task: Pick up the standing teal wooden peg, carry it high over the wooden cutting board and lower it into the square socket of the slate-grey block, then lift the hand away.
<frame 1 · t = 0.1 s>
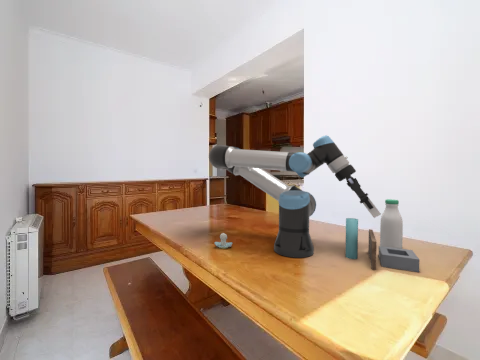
hand: (375, 213, 90), 15 cm above the table, tool tilted 35°, fingers open, 13 cm apart
wooden cutting board: (371, 260, 82), on the table
socket block: (397, 263, 78), on the table
pacifier: (223, 247, 96), on the table
peg: (351, 257, 85), on the table
milk bottle: (390, 248, 95), on the table
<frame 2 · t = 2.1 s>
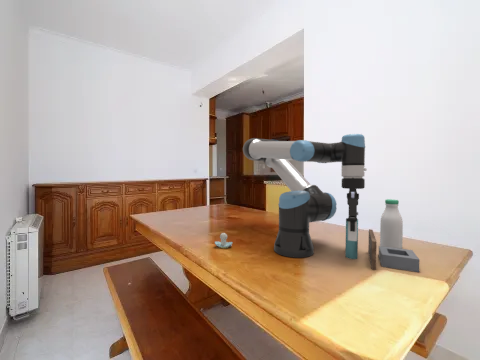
hand: (352, 236, 84), 8 cm above the table, tool pointing down, fingers open, 13 cm apart
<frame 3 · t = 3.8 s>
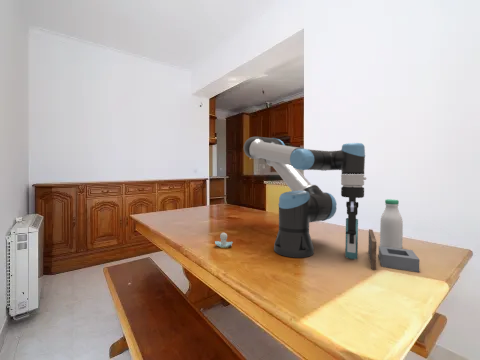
hand: (351, 250, 85), 3 cm above the table, tool pointing down, fingers closed on peg, 4 cm apart
peg: (351, 257, 85), on the table, touching gripper
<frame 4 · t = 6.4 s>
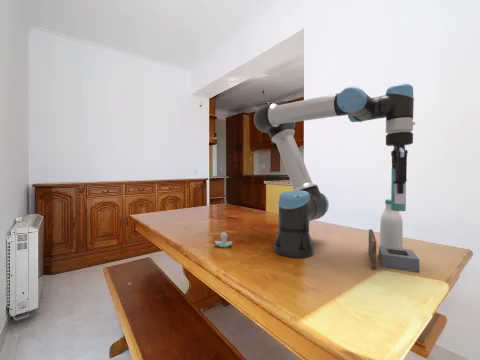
hand: (398, 202, 78), 21 cm above the table, tool pointing down, fingers closed on peg, 4 cm apart
peg: (398, 210, 78), point 18 cm above the table, touching gripper
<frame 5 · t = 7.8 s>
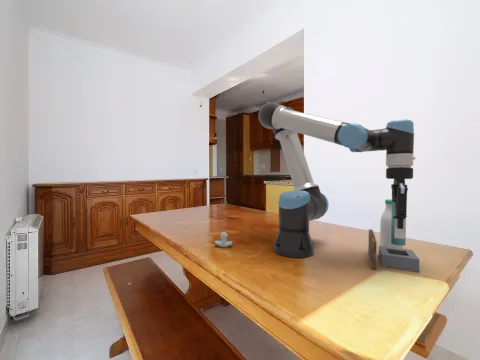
hand: (398, 236, 78), 9 cm above the table, tool pointing down, fingers closed on peg, 4 cm apart
peg: (398, 243, 78), point 7 cm above the table, touching gripper
when the fingers open (6 cm above the table, at t = 9.2 s): peg drops 2 cm, resting on socket block.
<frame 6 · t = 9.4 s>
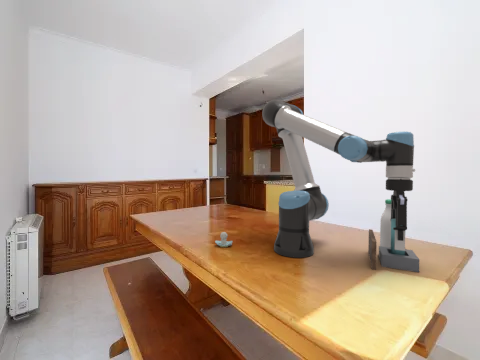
hand: (397, 246, 78), 6 cm above the table, tool pointing down, fingers open, 7 cm apart
peg: (397, 260, 78), point 1 cm above the table, touching socket block
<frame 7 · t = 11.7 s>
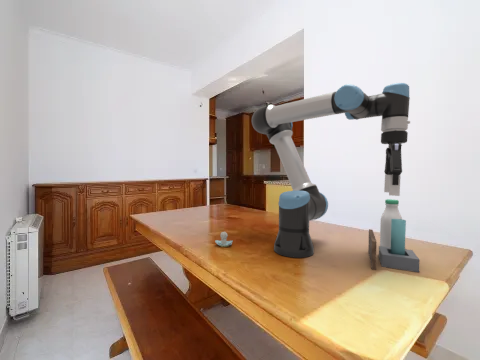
hand: (391, 193, 80), 24 cm above the table, tool pointing down, fingers open, 13 cm apart
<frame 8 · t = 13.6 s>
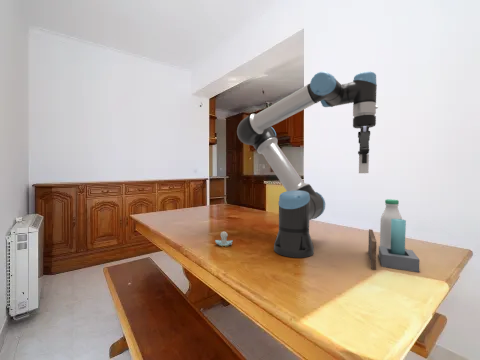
hand: (363, 173, 87), 31 cm above the table, tool pointing down, fingers open, 13 cm apart
at the end: peg 0.1 cm off-centre on the socket block, point 1.0 cm above the socket block's base; peg tilted 1°; the gripper is holding nothing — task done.
